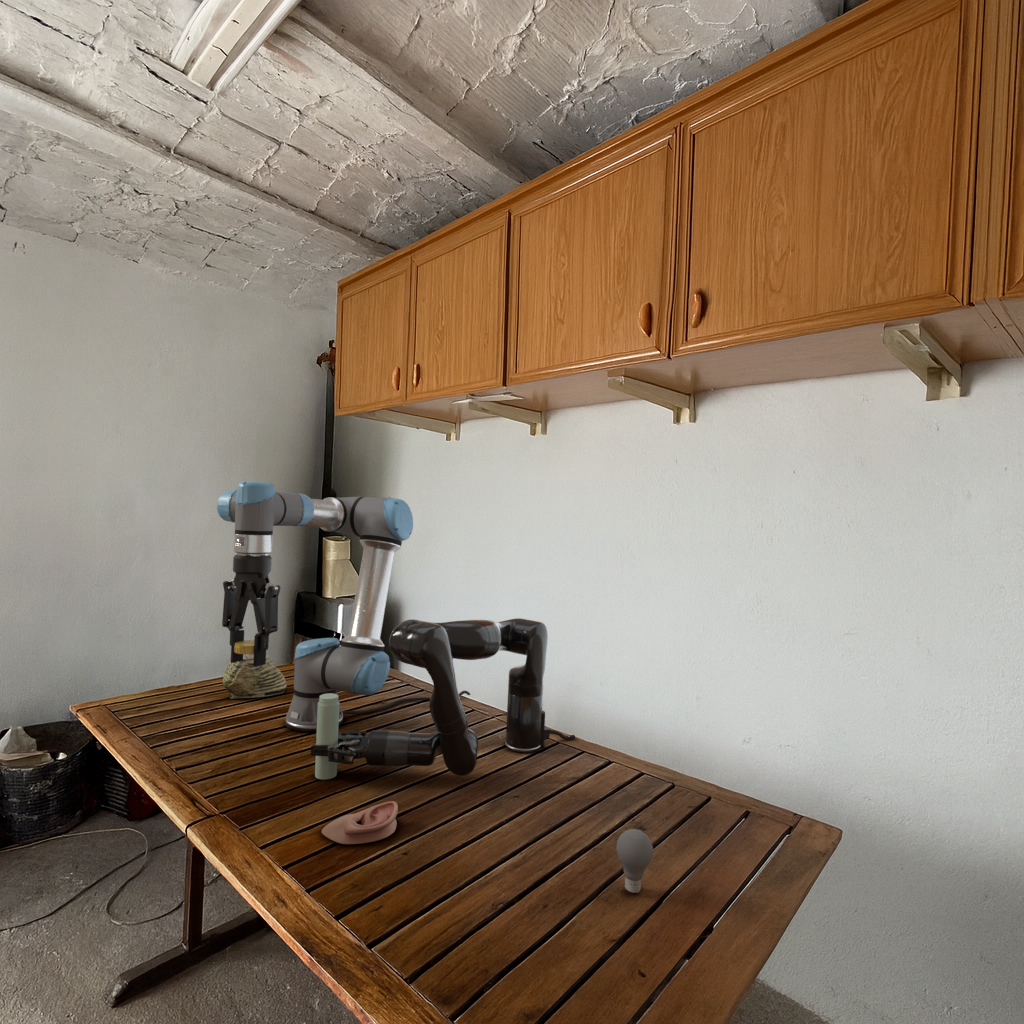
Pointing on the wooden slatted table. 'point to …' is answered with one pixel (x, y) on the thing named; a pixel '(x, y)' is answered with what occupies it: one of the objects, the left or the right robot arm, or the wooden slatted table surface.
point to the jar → (327, 733)
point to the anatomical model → (364, 825)
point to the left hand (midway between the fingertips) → (248, 663)
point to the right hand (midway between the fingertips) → (315, 745)
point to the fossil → (253, 678)
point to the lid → (244, 647)
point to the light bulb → (634, 857)
